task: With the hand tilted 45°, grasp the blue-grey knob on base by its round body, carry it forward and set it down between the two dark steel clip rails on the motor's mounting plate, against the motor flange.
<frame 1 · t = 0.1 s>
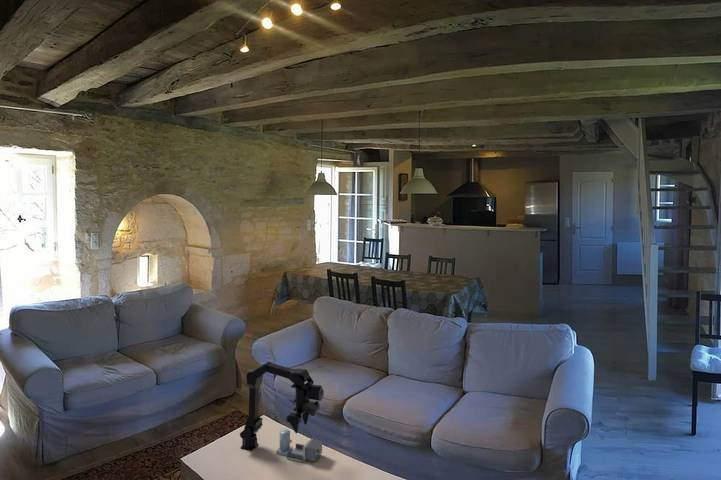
hand: (301, 428, 230), 14 cm above the table, tool pointing down, fingers open, 9 cm apart
blue-grey knob on base: (284, 451, 237), on the table
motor: (311, 457, 232), on the table
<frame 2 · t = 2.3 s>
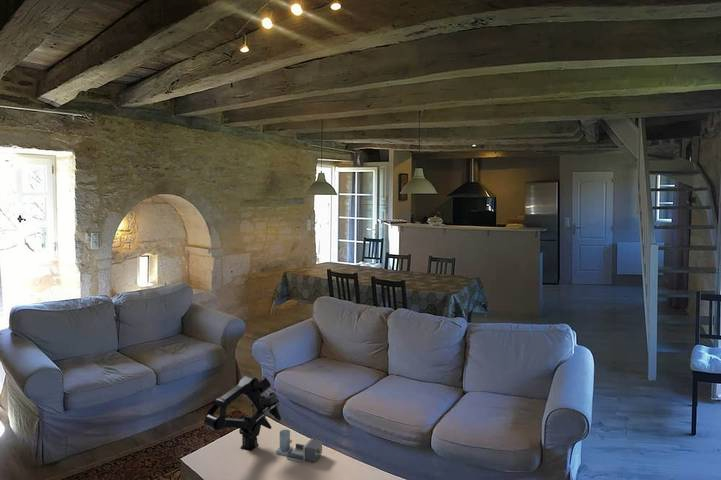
hand: (275, 424, 237), 13 cm above the table, tool tilted 45°, fingers open, 9 cm apart
nothing on the table moved.
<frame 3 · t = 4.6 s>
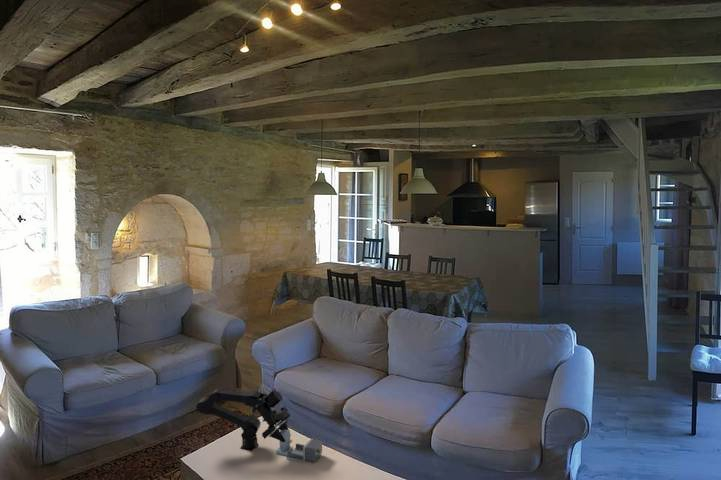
hand: (287, 439, 236), 7 cm above the table, tool tilted 45°, fingers closed on blue-grey knob on base, 5 cm apart
blue-grey knob on base: (284, 451, 237), on the table, touching gripper
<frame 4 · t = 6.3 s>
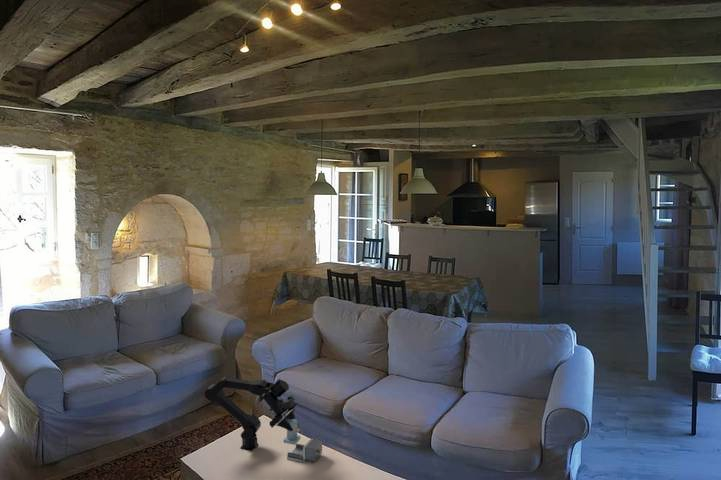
hand: (294, 428, 234), 13 cm above the table, tool tilted 45°, fingers closed on blue-grey knob on base, 5 cm apart
blue-grey knob on base: (292, 440, 235), point 6 cm above the table, touching gripper
when the fingers open (9 cm above the table, at t = 8.2 s): blue-grey knob on base drops 1 cm, resting on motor.
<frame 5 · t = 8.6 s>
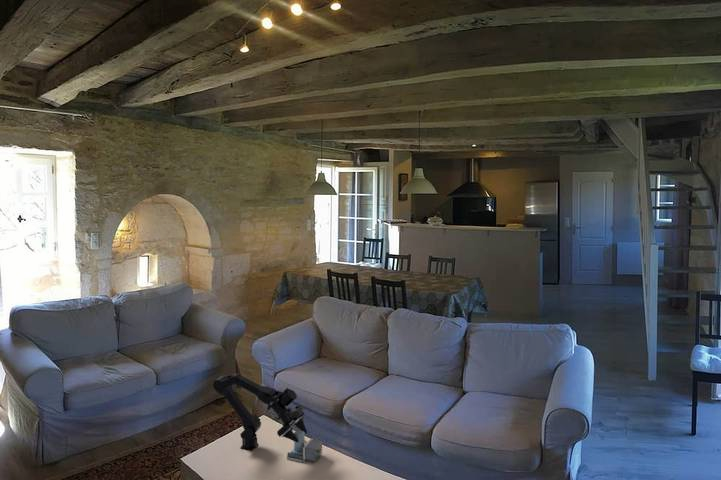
hand: (302, 437, 233), 9 cm above the table, tool tilted 45°, fingers open, 9 cm apart
blue-grey knob on base: (299, 452, 234), point 1 cm above the table, touching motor
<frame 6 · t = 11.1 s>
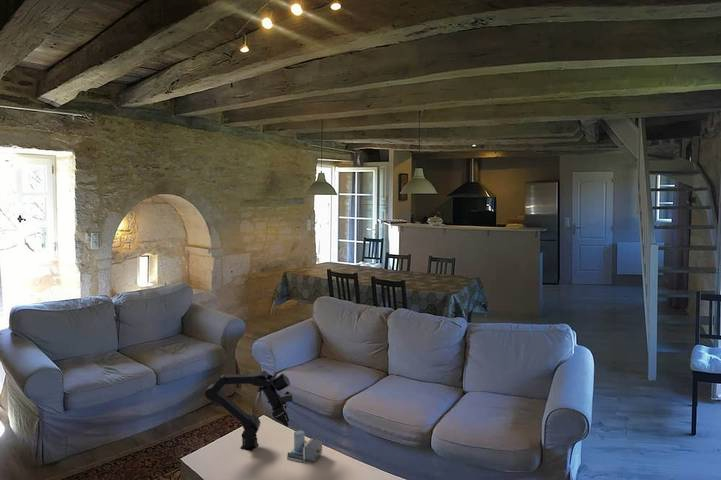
hand: (288, 423, 237), 13 cm above the table, tool tilted 30°, fingers open, 9 cm apart
nothing on the table moved.
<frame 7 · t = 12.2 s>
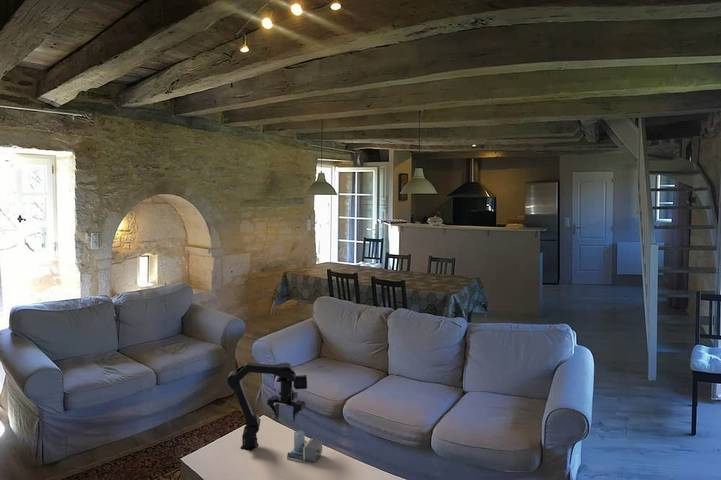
hand: (286, 419, 242), 13 cm above the table, tool pointing down, fingers open, 9 cm apart
nothing on the table moved.
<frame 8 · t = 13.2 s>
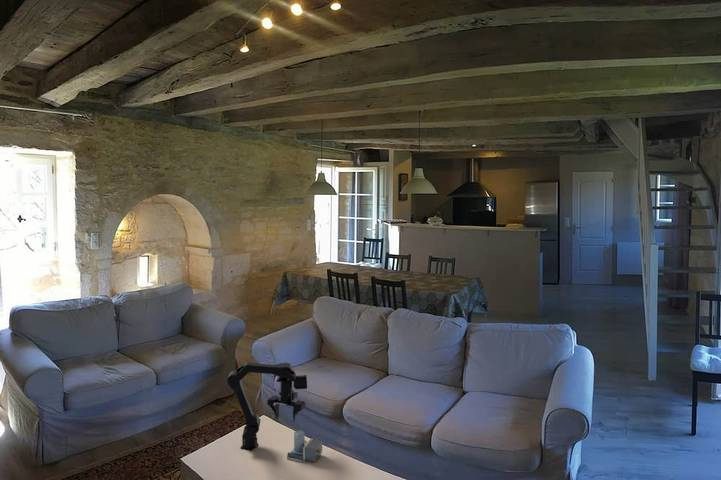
hand: (286, 419, 242), 13 cm above the table, tool pointing down, fingers open, 9 cm apart
nothing on the table moved.
at the end: blue-grey knob on base 0.2 cm from the target spot, point 1.0 cm above the table; blue-grey knob on base tilted 0°; the gripper is holding nothing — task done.
